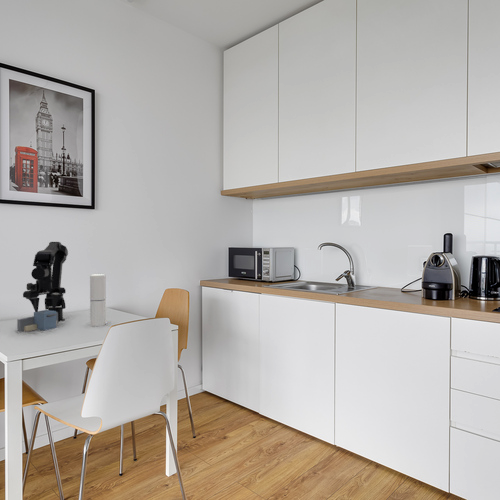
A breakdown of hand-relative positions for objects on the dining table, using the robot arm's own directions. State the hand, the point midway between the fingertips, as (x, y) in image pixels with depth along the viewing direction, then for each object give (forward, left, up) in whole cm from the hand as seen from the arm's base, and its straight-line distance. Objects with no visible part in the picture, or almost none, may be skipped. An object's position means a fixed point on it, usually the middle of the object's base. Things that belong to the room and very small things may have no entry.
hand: (45, 310), depth 187 cm
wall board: (0, -5, -9) cm, 10 cm away
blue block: (0, 0, -9) cm, 9 cm away
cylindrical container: (-17, +16, -9) cm, 25 cm away
